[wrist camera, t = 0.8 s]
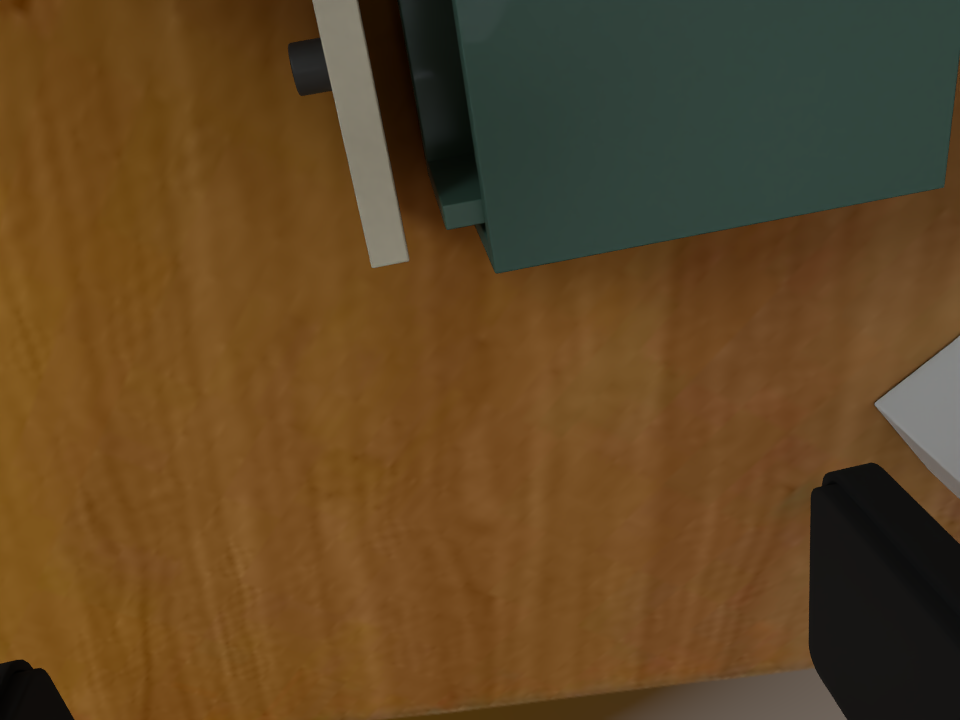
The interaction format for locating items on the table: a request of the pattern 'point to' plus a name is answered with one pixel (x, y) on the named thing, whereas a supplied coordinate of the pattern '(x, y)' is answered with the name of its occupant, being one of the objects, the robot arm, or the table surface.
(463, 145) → the drawer
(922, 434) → the milk
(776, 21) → the cabinet
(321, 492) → the table surface
